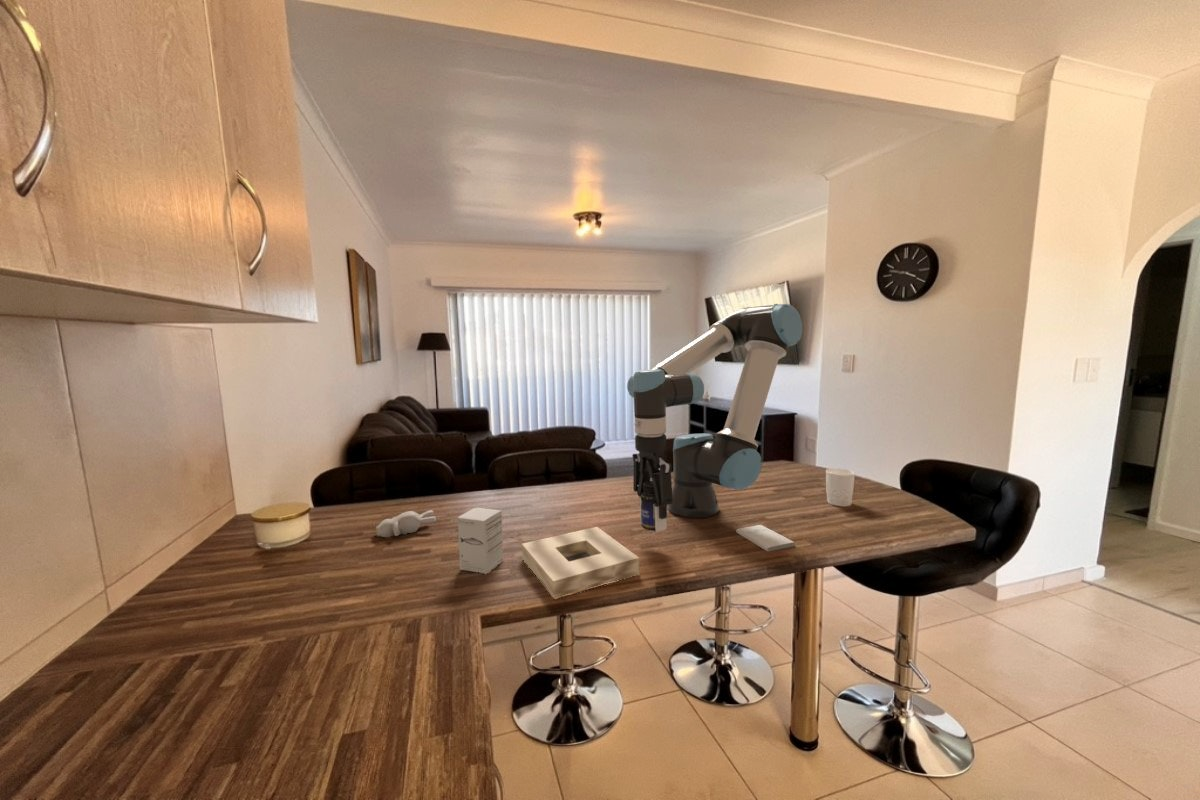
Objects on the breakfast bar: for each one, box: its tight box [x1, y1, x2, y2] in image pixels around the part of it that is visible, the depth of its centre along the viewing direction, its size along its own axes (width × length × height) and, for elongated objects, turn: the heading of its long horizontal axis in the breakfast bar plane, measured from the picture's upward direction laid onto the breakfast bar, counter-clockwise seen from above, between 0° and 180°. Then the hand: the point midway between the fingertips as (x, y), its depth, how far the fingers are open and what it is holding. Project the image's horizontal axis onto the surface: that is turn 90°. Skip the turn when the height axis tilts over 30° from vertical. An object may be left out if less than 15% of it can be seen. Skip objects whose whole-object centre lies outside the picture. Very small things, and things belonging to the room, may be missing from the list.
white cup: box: [825, 467, 856, 507], centre depth 140 cm, size 8×8×10 cm
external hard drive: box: [735, 524, 796, 552], centre depth 116 cm, size 2×8×12 cm
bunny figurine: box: [375, 509, 437, 538], centre depth 126 cm, size 10×5×15 cm
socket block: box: [521, 526, 640, 599], centre depth 103 cm, size 20×20×4 cm
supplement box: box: [457, 507, 504, 575], centre depth 104 cm, size 7×7×13 cm
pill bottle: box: [640, 480, 657, 532], centre depth 111 cm, size 6×6×11 cm
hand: (652, 525), depth 112 cm, fingers closed on pill bottle, 6 cm apart
